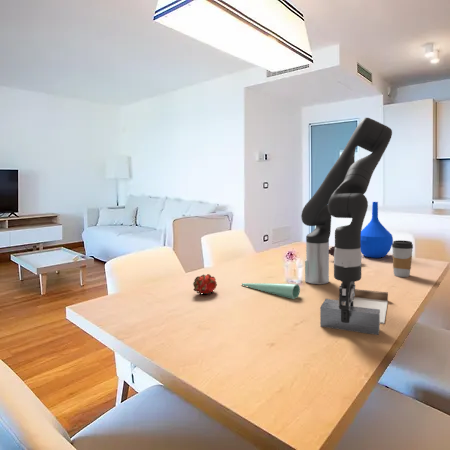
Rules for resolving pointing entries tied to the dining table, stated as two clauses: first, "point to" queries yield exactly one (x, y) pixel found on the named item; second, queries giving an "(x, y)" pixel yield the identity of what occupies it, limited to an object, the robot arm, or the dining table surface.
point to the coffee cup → (402, 257)
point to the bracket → (359, 318)
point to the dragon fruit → (204, 284)
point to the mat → (372, 305)
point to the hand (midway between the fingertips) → (347, 317)
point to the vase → (375, 237)
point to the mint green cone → (277, 289)
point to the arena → (370, 295)
